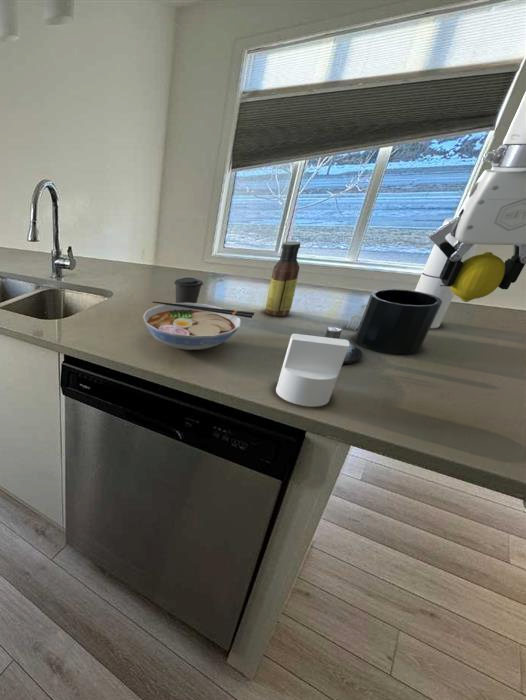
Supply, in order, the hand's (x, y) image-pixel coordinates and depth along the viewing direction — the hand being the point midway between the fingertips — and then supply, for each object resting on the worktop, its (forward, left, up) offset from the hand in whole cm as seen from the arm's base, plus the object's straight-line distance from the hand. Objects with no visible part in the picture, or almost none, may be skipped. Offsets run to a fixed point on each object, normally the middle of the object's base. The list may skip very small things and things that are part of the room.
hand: (473, 284), depth 65 cm
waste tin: (+1, -27, -22) cm, 35 cm away
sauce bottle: (+24, -41, -23) cm, 53 cm away
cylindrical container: (-8, -44, -23) cm, 50 cm away
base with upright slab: (+18, +5, -23) cm, 29 cm away
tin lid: (+13, -17, -22) cm, 31 cm away
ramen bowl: (+43, -11, -23) cm, 50 cm away
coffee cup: (+48, -35, -23) cm, 64 cm away
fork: (+4, -44, -23) cm, 50 cm away
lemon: (0, 0, -3) cm, 3 cm away
